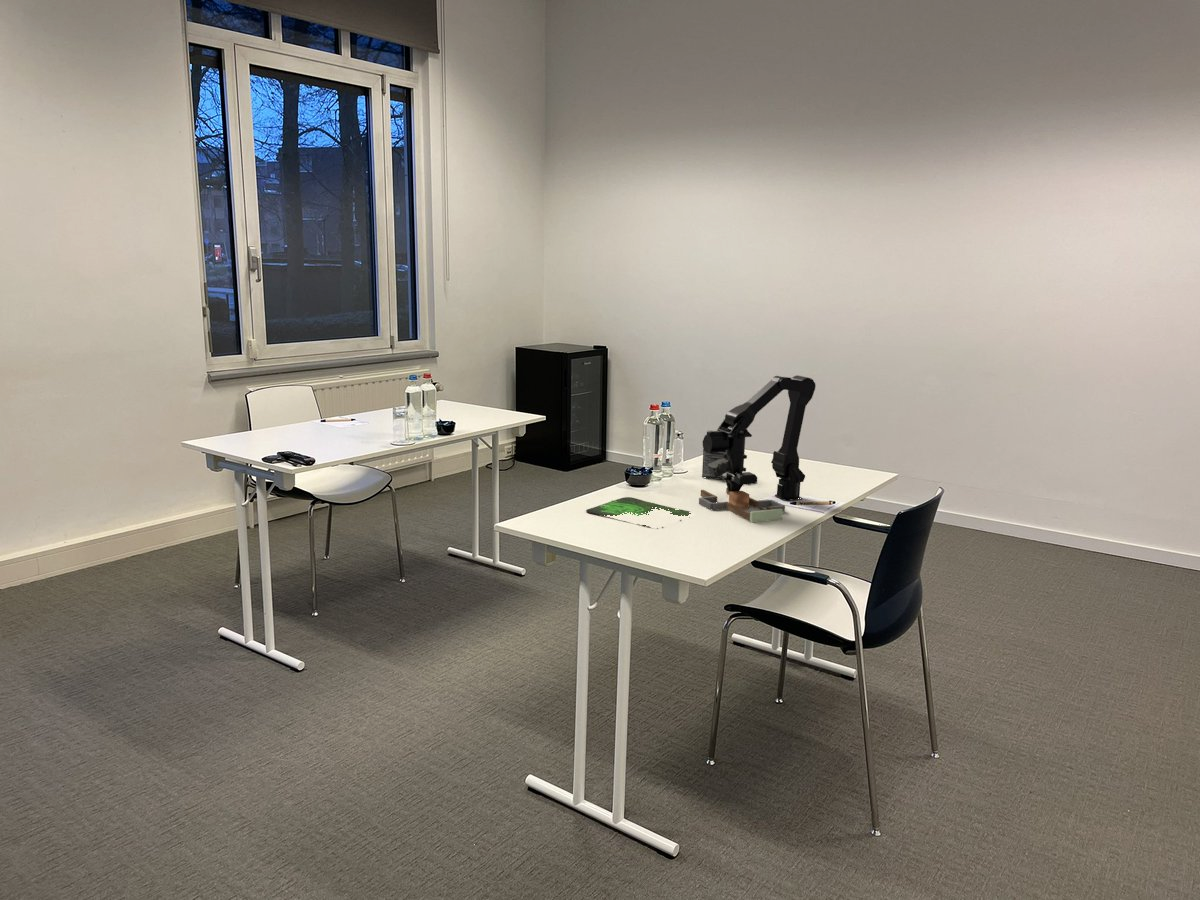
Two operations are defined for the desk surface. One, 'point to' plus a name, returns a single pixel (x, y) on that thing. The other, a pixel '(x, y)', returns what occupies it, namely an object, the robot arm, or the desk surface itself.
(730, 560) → the desk surface
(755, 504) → the lane walls
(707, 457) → the small box
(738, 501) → the wooden cube
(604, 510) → the mouse mat
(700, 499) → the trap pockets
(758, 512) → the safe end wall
